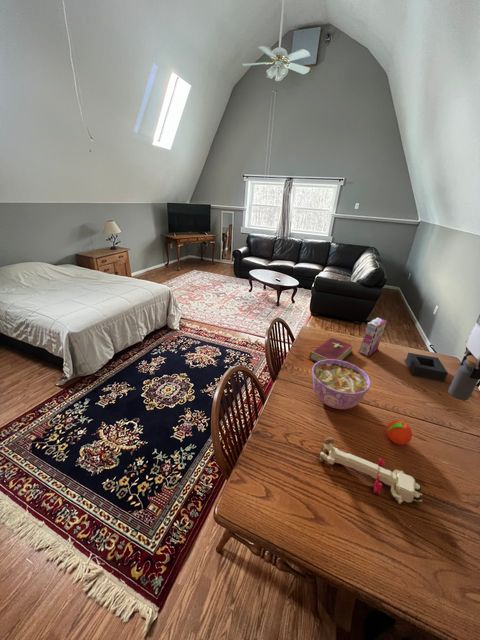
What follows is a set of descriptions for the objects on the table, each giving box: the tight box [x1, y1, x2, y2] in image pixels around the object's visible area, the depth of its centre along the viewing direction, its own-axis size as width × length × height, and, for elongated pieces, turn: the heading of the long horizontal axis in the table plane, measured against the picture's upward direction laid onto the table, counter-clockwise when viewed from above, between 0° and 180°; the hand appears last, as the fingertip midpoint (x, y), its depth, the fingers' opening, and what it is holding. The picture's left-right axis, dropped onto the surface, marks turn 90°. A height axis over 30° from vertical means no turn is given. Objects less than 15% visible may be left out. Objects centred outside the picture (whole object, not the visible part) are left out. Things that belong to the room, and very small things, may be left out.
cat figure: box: [318, 436, 423, 505], centre depth 71 cm, size 10×9×25 cm
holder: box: [405, 352, 449, 382], centre depth 119 cm, size 12×12×4 cm
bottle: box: [447, 355, 480, 401], centre depth 89 cm, size 6×6×15 cm
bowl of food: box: [311, 359, 372, 410], centre depth 98 cm, size 20×20×12 cm
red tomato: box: [385, 420, 413, 446], centre depth 83 cm, size 8×7×7 cm
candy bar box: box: [358, 317, 387, 357], centre depth 130 cm, size 11×5×16 cm, turn 133°
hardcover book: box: [309, 336, 355, 363], centre depth 127 cm, size 12×21×4 cm, turn 137°
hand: (470, 371), depth 88 cm, fingers closed on bottle, 5 cm apart
